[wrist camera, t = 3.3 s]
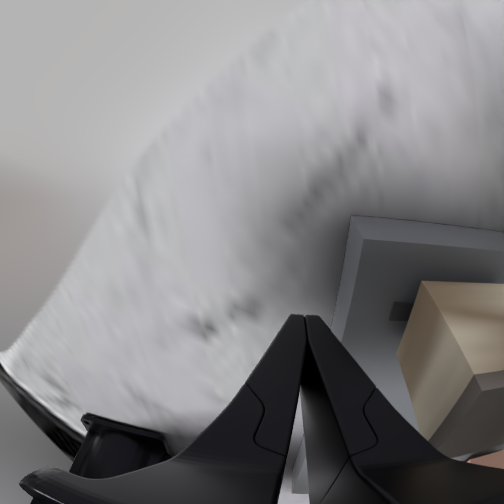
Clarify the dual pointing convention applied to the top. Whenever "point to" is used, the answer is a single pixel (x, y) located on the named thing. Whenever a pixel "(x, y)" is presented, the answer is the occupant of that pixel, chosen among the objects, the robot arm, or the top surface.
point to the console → (399, 297)
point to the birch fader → (456, 365)
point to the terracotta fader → (490, 460)
